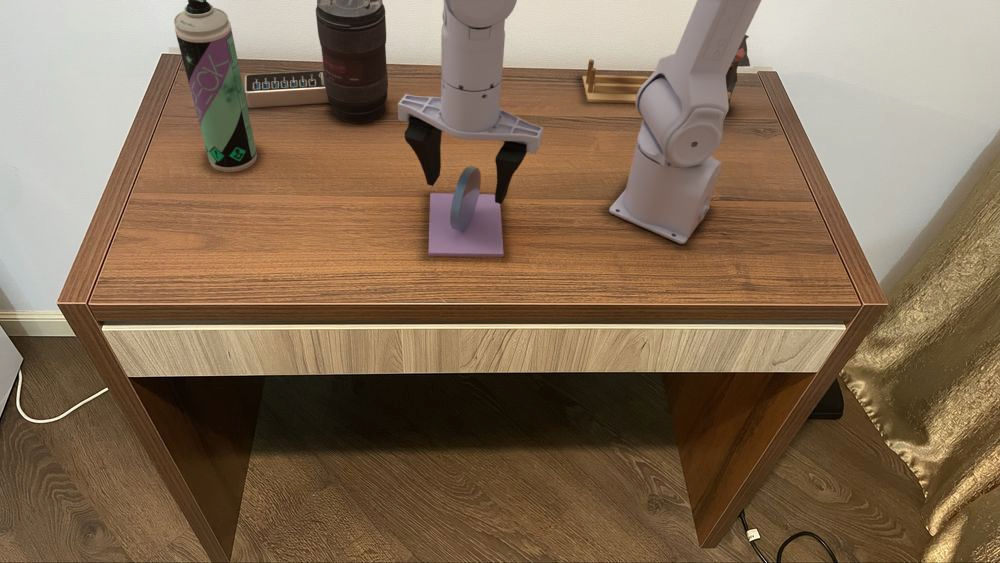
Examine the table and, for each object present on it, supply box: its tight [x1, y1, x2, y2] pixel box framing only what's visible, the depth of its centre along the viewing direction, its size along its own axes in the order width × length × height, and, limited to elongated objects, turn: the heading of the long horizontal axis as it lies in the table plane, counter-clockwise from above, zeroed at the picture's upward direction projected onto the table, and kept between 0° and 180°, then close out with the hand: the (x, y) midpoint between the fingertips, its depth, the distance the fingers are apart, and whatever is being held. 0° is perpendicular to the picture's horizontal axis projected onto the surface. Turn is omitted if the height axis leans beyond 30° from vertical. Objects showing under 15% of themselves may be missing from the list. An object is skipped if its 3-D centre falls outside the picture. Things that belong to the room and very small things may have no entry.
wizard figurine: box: [726, 34, 751, 105], centre depth 99 cm, size 8×6×12 cm
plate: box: [450, 165, 482, 231], centre depth 81 cm, size 7×1×7 cm, turn 162°
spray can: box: [173, 0, 258, 173], centre depth 83 cm, size 6×6×20 cm
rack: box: [581, 59, 650, 105], centre depth 104 cm, size 11×6×4 cm, turn 93°
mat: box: [428, 192, 505, 258], centre depth 84 cm, size 10×8×1 cm
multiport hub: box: [244, 69, 330, 109], centre depth 99 cm, size 4×11×2 cm, turn 103°
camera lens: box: [315, 0, 389, 124], centre depth 93 cm, size 8×8×15 cm
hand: (467, 188), depth 80 cm, fingers open, 7 cm apart
